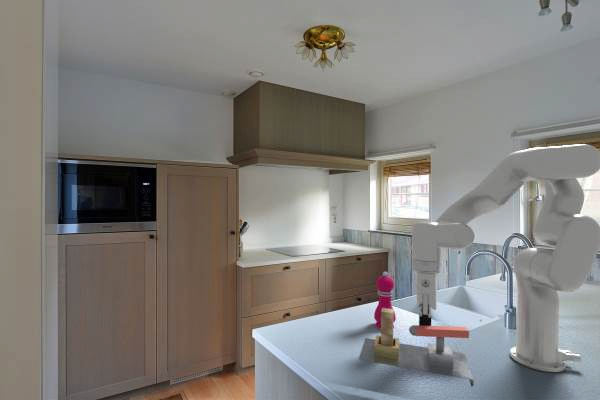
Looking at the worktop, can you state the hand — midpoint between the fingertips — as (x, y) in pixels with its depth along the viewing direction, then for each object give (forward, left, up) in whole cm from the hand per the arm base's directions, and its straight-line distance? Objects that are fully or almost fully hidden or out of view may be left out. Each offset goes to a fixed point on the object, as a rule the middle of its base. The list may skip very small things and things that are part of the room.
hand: (425, 329), depth 90 cm
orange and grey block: (-3, +2, -4) cm, 6 cm away
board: (+3, +2, -8) cm, 9 cm away
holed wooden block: (+10, +2, -7) cm, 13 cm away
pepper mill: (+12, -17, -8) cm, 22 cm away
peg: (+10, +2, -7) cm, 13 cm away
